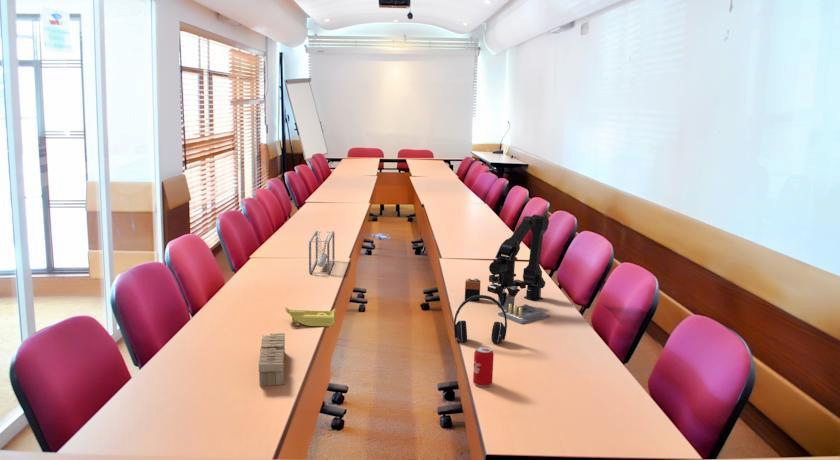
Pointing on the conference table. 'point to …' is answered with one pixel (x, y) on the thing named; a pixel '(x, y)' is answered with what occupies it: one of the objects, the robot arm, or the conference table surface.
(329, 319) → the plastic component
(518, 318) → the header socket
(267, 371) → the block tower
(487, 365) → the beverage can
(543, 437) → the conference table surface
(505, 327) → the headphones
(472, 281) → the battery
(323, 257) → the newton's cradle
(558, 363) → the conference table surface
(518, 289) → the robot arm
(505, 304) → the plug
